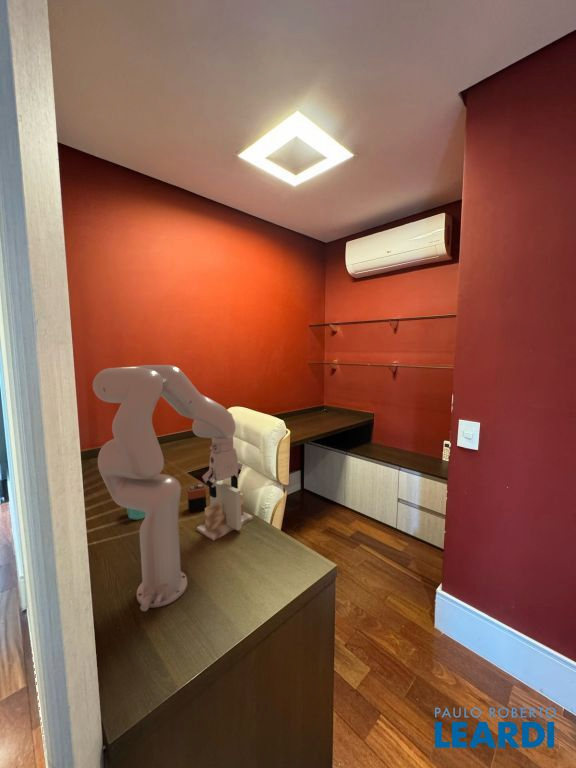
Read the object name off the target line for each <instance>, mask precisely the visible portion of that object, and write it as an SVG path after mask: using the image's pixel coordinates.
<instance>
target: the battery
mask: <svg viewBox="0 0 576 768" xmlns="http://www.w3.org/2000/svg"><path fill="white" fill-rule="evenodd" d="M186 491H187V506H188V507H187V508H188V512H189V514H190V513H196V512H197V513H198V512H201V511H205V508H206V507H207V493H206V492H207V489H206V487H205V485H204V484H203V483H199V484H198V485H191V486H189V487H187V489H186Z"/></svg>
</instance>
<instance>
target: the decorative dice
mask: <svg viewBox="0 0 576 768" xmlns="http://www.w3.org/2000/svg"><path fill="white" fill-rule="evenodd" d="M125 509H126V514H127V516H128V518H129V519H130V520H135V521H137V520H144V519H145V517H146V513H145V512H143V511H139V510H134V509H128V508H125Z"/></svg>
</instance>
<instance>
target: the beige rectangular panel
mask: <svg viewBox="0 0 576 768" xmlns="http://www.w3.org/2000/svg"><path fill="white" fill-rule="evenodd" d="M213 481H214V480H213ZM212 483H213V482H212ZM215 486H216V495H217V497H216V498H214V497H212V496H210V495H209V504H210V505H209V506H211V505H213V504H215V503H217V502H220V503H222V512H223V513H225V514H226V522H227V525H228V526H230V527H232V528H234V530H236V531H239V530H241V529H242V525H241V493H242V492H241V489H239V488H234V487H232V486H231V484H227V483H225V482H222V481H217V483H216V484H215Z"/></svg>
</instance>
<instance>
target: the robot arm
mask: <svg viewBox="0 0 576 768" xmlns="http://www.w3.org/2000/svg"><path fill="white" fill-rule="evenodd" d="M92 389H93V392H94V395H95V396H96V397H97V398H98V399H99V400H101V401H103V402H105V403H109V404H110V403H112V404H113V403H115V404H120V406H119V408H118V410H117V411H116V414H115V416H114V418H113V420H112V425H111V433H112V435H113V438H112V439H110V440H108V441H106V442H105V443H104V444H103V445H102V446H101V448H100V450H99V453H98V456H97V467H98V471H99V473H100V476H101V478H102V480H103V482H104V484H105V486H106V489H107V490H108V493H109V494H110V496H111V498H112V500H113V501H114V503H115V504H116V505H118V506H120V507H121V508H123V509H124V508H125V509H126V508H128V509H134V510H139V511H143V512H145V513H146V517H145V518H143V521H142V522H141V524H140V527H139V549H140V562H141V563H140V565H141V580H142V582H141V583H140V584H139V585H138V588H137V590H136V600H137V602H138V603H139V604H140V607H139V609H140V610H141V611H142V612H146V611H148V610H149V608H160V607H164V606H166V605H167V606H168V605H169V604H171V603H174V602H175V601H176V600H177V599H179V598H180V597H181V596H182V595H183V594H184V593H185V591H186V589H187V587H188V578H187V577H188V576H187V575H186V574H185V573H184V572H183V571H182V570H181V567H182V566H181V549H180V530H179V529H180V528H179V511H180V510H179V509H180V508H179V507H180V501H181V495H182V487H181V484H180V482H179V480H178V479H176V478H175V477H173V476H171V475H168V474H163V473H161V472H163V469H164V466H165V460H164V454H163V452H162V448H161V445H160V443H159V440H158V437H157V433H156V431H155V429H154V426H153V414H154V411H155V408H156V406H157V403H158V401H159V399H160V398H163V399H164V400H165V401H166V402H167V403H168V404H169V406H170V407H172V408H173V409H174V410H175V411H176V412H177V413H178V415H180V416H182V417H185V418H188V419H190V420H193V422H192V426H191V430H192V432H193V433H194V435H195V436H197V437H200V438H204V439H205V438H206V439H211V445H210V446H209V449H210V451H211V452H210V455H209V466H208V467H209V469H208V471H206V472H205V473H204V474H203V475H202V479H203V481H204V483H205V484H206V485H207V486H208V490H209V492H208V494H209V497H210V496H212V497H214V498H216V497H217V495H216V486H215V484H216V483H217V481H220V482H222V481H223V480H225V479H226V480H227V479H229V478H230V486H232V487H234V488H237V489H239V486H238V485H239V483H238V482H239V478H240V474H241V472H242V468H243V463H240V462H239V461H238V455H237V450H236V448H235V447H234V435H235V432H236V428H237V426H236V423H235V419H234V417H233V414H232V413H231V412H229V410H228V409H227V408H226V407H225V406H223V405H222V404H220V403H218V401H217V402H216V401H215V400H213V399H211V398H210V397H207V396H205V395H204V394H202V393H200V392H199V390H198V388H196V387H195V386H194V384H193V383H192V382H191V380H190V379H189V378H188V377H187V376H186V374H185V373H184V372H183V371H182V370H181V369H180V368H179V367H178V366H175V365H171V364H147V365H146V364H144V365H136V366H135V365H134V366H122V367H108V368H105V369H102V370H101V371H99V372H98V373H97V374H96V376H95V377H94V379H93V381H92ZM213 480H214V481H213ZM212 482H213V483H212Z"/></svg>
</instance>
